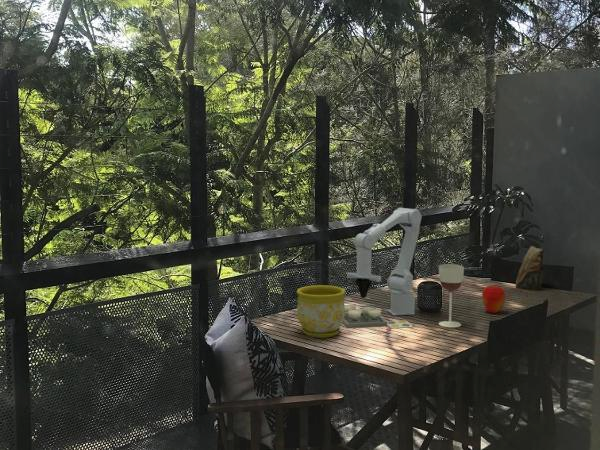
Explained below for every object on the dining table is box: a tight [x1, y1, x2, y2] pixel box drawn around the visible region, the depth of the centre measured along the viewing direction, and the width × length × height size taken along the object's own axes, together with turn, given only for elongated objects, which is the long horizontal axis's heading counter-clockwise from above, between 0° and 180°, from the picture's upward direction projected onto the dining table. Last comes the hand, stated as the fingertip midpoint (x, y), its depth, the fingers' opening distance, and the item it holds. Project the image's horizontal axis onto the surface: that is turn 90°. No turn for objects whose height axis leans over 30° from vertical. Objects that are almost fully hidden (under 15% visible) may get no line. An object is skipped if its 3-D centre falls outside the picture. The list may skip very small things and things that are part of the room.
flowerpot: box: [296, 284, 346, 339], centre depth 238 cm, size 18×18×16 cm
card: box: [385, 320, 414, 329], centre depth 249 cm, size 9×9×1 cm
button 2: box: [348, 309, 362, 320], centre depth 249 cm, size 5×5×4 cm
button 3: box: [362, 306, 376, 315], centre depth 258 cm, size 5×5×4 cm
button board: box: [342, 311, 388, 329], centre depth 254 cm, size 16×16×2 cm
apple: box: [481, 285, 506, 314], centre depth 267 cm, size 9×9×12 cm
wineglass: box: [438, 263, 465, 328], centre depth 248 cm, size 9×10×23 cm
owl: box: [515, 245, 544, 292], centre depth 311 cm, size 13×13×20 cm
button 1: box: [344, 304, 357, 313], centre depth 257 cm, size 5×5×4 cm
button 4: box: [368, 308, 382, 319], centre depth 250 cm, size 5×5×4 cm
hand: (363, 297), depth 254 cm, fingers closed
